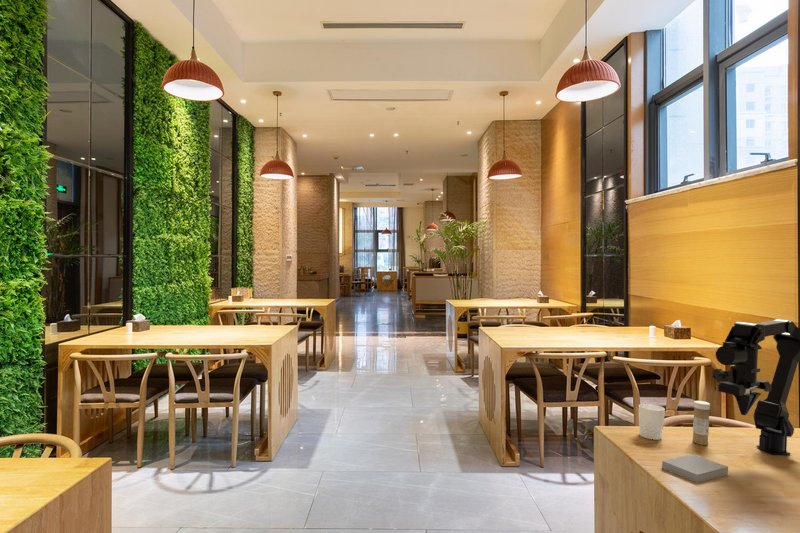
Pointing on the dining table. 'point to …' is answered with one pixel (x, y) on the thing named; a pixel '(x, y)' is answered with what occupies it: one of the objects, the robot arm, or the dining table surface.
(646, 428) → the white cup
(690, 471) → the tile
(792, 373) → the robot arm
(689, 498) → the dining table surface
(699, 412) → the sprinkles bottle
